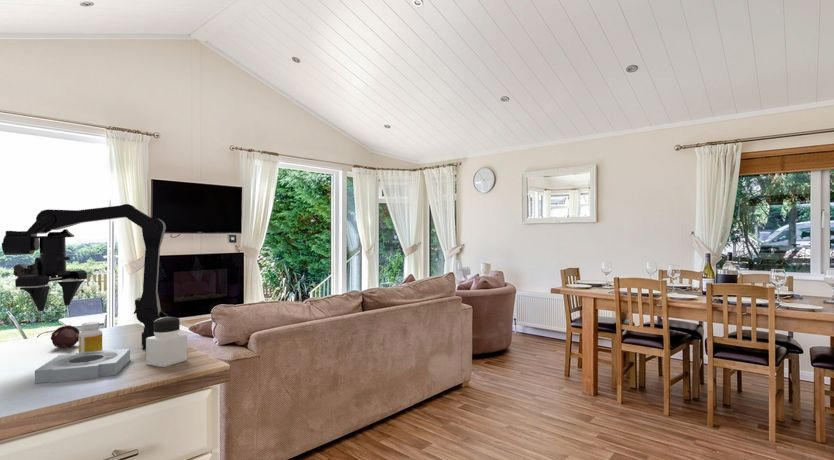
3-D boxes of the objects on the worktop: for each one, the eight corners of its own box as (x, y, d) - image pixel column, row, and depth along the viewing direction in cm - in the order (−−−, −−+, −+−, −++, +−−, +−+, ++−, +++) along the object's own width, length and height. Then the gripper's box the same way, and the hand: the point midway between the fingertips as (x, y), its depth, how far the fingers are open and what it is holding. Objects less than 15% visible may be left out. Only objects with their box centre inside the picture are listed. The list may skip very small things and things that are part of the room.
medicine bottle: (187, 360, 119) (187, 316, 119) (163, 367, 112) (163, 321, 112) (170, 357, 122) (170, 314, 122) (145, 364, 115) (145, 319, 115)
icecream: (89, 327, 133) (77, 325, 143) (59, 325, 127) (49, 323, 137) (83, 350, 131) (71, 347, 141) (52, 349, 126) (42, 345, 135)
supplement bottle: (107, 355, 125) (107, 321, 125) (91, 360, 119) (91, 325, 120) (89, 354, 125) (89, 321, 125) (73, 360, 120) (73, 325, 120)
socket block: (131, 358, 121) (131, 347, 121) (114, 376, 106) (114, 363, 106) (60, 365, 115) (60, 354, 115) (32, 384, 100) (32, 371, 100)
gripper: (50, 252, 133) (51, 303, 133) (-7, 256, 114) (-6, 315, 114) (87, 251, 133) (89, 302, 133) (36, 255, 115) (38, 314, 115)
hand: (54, 308), depth 124 cm, fingers open, 9 cm apart
